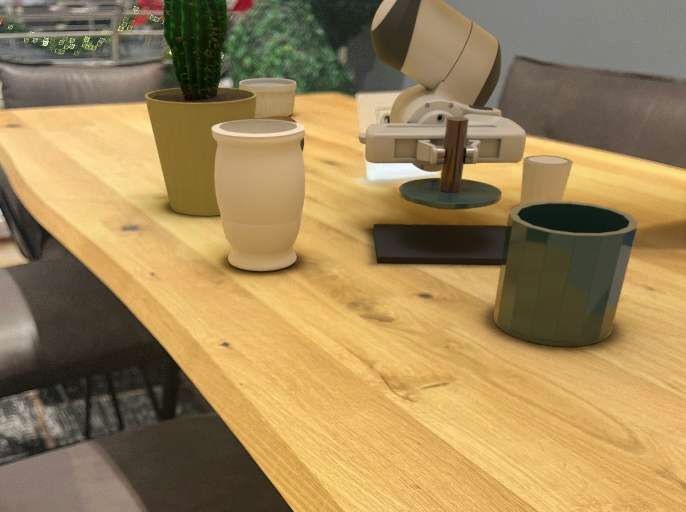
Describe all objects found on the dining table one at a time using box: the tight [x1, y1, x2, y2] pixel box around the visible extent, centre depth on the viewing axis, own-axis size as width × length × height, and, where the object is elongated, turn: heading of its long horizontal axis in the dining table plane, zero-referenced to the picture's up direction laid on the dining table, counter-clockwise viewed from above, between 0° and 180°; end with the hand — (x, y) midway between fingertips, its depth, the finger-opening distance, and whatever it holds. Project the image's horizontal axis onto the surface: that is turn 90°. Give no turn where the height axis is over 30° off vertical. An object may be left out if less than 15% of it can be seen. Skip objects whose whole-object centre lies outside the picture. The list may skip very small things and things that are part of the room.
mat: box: [372, 223, 507, 266], centre depth 98 cm, size 18×14×1 cm
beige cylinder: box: [519, 154, 574, 206], centre depth 111 cm, size 7×7×7 cm
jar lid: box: [398, 117, 502, 211], centre depth 92 cm, size 13×13×9 cm
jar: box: [212, 119, 306, 272], centre depth 89 cm, size 11×10×15 cm
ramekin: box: [238, 77, 297, 118], centre depth 176 cm, size 13×13×7 cm
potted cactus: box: [144, 0, 257, 217], centre depth 105 cm, size 15×15×30 cm
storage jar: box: [493, 200, 639, 348], centre depth 75 cm, size 12×12×10 cm
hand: (455, 156), depth 91 cm, fingers closed on jar lid, 2 cm apart
